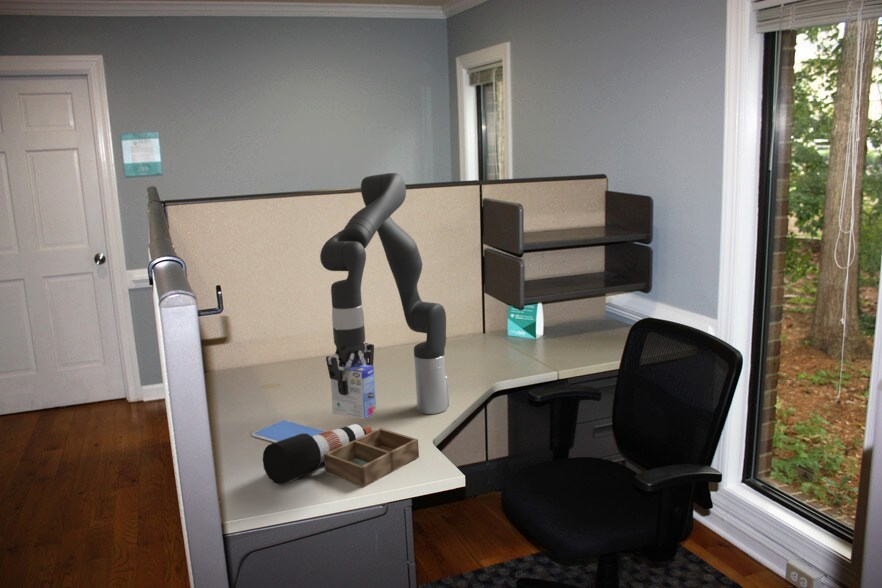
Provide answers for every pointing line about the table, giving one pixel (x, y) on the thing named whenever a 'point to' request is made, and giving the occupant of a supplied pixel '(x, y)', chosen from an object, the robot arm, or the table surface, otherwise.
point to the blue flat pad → (285, 431)
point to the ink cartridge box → (356, 393)
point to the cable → (305, 452)
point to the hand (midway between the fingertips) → (353, 390)
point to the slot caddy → (371, 456)
